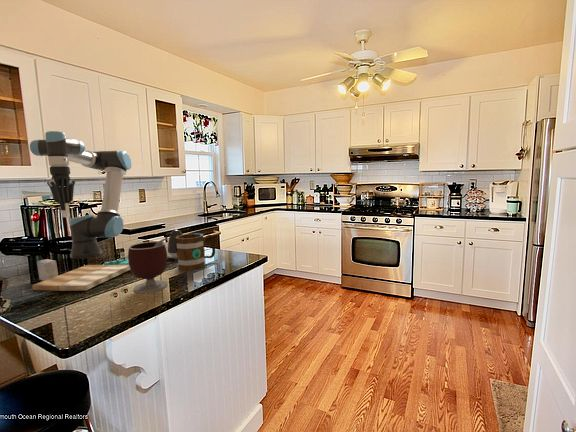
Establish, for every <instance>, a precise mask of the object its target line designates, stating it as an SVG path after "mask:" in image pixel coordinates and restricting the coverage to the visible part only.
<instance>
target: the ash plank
mask: <svg viewBox="0 0 576 432" xmlns="http://www.w3.org/2000/svg"><path fill="white" fill-rule="evenodd" d="M128 271H131V269H130V266H129V265H119V264H117V265H109V266H106V267H104V268H101V269H99V270H96V271H94V272H91V273H89V274H87V275H84V276H82V277H79V278H77V279H74V280H72V281H69V282H67V283H65V284H62V285H60V286H59V291H61V292H64V291H67V292H68V291H69V292H70V291H78V292H79V291H88V290H90V289H93V288H94V287H96V286H99V285H101V284H102V283H105V282H107V281H109V280H111V279H113V278H115V277H117V276H120V275H122V274H124V273H126V272H128Z"/></svg>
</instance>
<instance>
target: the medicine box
mask: <svg viewBox="0 0 576 432" xmlns="http://www.w3.org/2000/svg"><path fill="white" fill-rule="evenodd" d="M36 265H37V266H36V267H37V271H38V278H39V279H38V280H40V281H41V282H42V281H45V280H48V279H50V278H53V277H56V276H58V275H59V271H58V266H57V261H56V260H53V259H48V258H46V259H41V260H37V261H36Z"/></svg>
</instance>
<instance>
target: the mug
mask: <svg viewBox="0 0 576 432" xmlns="http://www.w3.org/2000/svg"><path fill="white" fill-rule="evenodd" d="M209 238H211V240H212V242H211V250H212V252H211V255H205V246H204V243H205V242H206V241H208V239H209ZM176 243H177V257H178V258H177V262H178V265H177V267H178V268H177V270H178V271H184V272H189V271H197V270H200V269H203V268H205V267H206V262H205V259H212V258H213V257H215V255H216V254H215V253H216V239H215V236H214V235H212V234H208V235H206V236H205V237H204V233H187V234H186V233H185V234H183V235H180V236H176Z"/></svg>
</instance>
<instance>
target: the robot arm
mask: <svg viewBox="0 0 576 432" xmlns="http://www.w3.org/2000/svg"><path fill="white" fill-rule="evenodd" d="M44 135H45V136H44V137H45V139H35V140H31V142H30V143H29V149H30V152H31V153H32V154H33V155H34V156H40V157H43V156H46V157H47V158H48V159H47V160H48V161H47V162H48V165H49V174H50V176H51V180H50V181H47V182H46V184H47V185H48V187H49V189H50V192H51V194H52V197H53V200H54V203H57V204H59V209H60V211H61V217H62V218H70V217H71V212H70V209H71V208H70V207H71V206H70V203H72V202H74V201H73V200H74V191H75V184H76V181H75V180H72V179H71V177H70V174H71V169H70V167H69V165H70V162H71V163H76V164H81V166H83V167H85V168H89V169H93V170H98V171H104V172H105V173H106V175H105V180H104V181H105V183H104V188H103V195H102V201H101V208H100V210H99V211H97V213H96V216H94V214H87V215H82V216H76V217H73V218H71V219H70V220H69V228H70V234H71V243H72V246H71V250H70V254H69V257H70V259H71V260H72V259H73V260H82V259H88V258H94V257H98V256H100V255H102V249H101V248H100V245H99V242H98V241H97V238H113V237H114V238H115V237H118V236H119V235H120V234H121V233H122V232H123V230H124V220H123V218H122V217H121V214H120V213H119V205H120V199H121V198H120V197H121V193H122V192H121V191H122V184H123V177H124V176H126V175H127V171H129V170H131V168H132V159H131V158H130V157H131V156H130V155H129V154H128V152H127V151H125V150H120V149H119V150H118V149H117V150H99V151H91V150H86V145H85V144H84V143H83V141H81V140H79V139H77V138H69V137H67V136H66V133H65V132H64V131H59V130H58V131H56V130H53V131H52V130H48V131H46V132H45V134H44Z"/></svg>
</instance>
